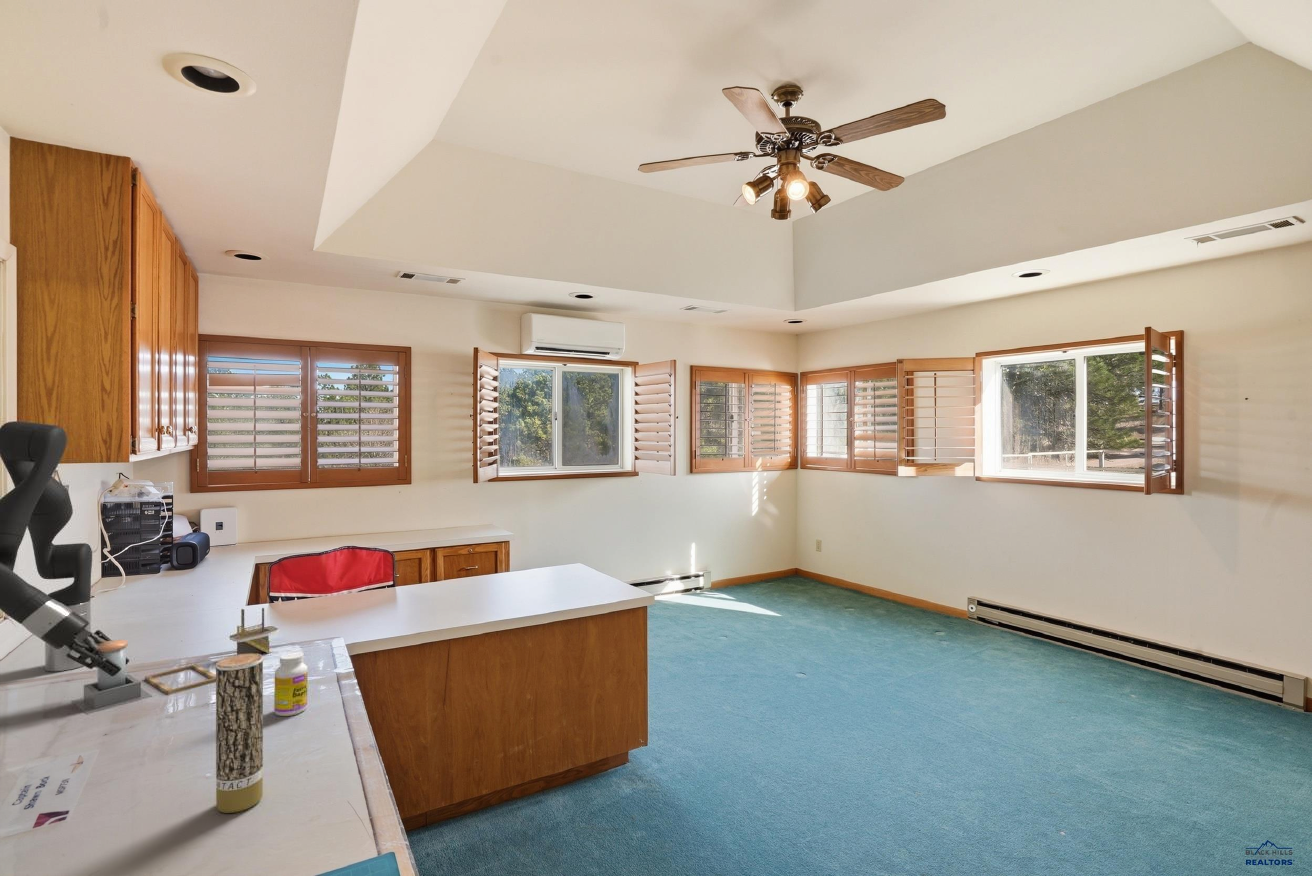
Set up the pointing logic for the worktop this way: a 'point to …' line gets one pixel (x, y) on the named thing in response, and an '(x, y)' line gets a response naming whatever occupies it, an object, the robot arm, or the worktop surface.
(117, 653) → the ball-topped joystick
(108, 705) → the housing
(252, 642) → the architectural model
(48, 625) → the robot arm
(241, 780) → the paper tube
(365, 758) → the worktop surface
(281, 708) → the supplement bottle
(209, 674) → the tray
